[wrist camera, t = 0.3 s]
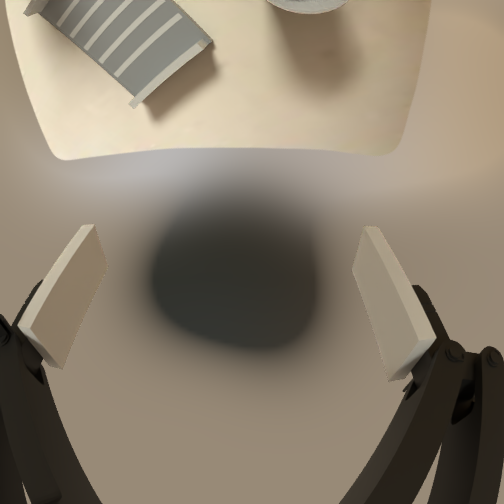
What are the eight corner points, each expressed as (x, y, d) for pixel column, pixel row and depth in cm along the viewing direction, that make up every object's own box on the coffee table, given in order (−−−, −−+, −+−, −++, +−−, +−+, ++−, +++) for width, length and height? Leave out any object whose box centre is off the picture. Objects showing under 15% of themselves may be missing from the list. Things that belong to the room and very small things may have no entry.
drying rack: (97, -61, 12) (80, -62, 9) (213, 40, 26) (207, 46, 23) (40, 9, 17) (21, 16, 15) (142, 98, 31) (131, 111, 29)
